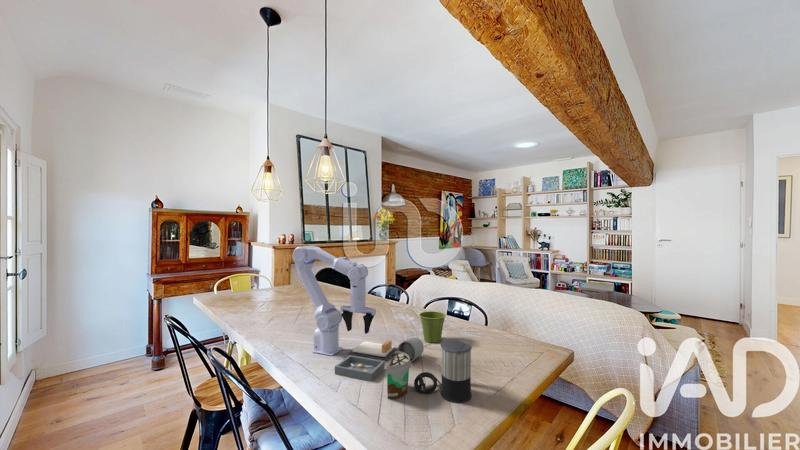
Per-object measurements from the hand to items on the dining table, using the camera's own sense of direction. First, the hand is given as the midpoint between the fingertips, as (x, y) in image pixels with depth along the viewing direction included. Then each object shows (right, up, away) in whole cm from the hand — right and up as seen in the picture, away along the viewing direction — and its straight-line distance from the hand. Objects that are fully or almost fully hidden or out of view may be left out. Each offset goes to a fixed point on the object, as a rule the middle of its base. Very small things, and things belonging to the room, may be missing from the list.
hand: (358, 331), depth 122 cm
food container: (+17, -10, -26) cm, 32 cm away
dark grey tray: (+2, -9, -13) cm, 16 cm away
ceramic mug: (+19, -10, -2) cm, 22 cm away
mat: (+6, -9, +4) cm, 12 cm away
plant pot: (+30, -10, +17) cm, 36 cm away
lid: (+6, -8, +4) cm, 11 cm away
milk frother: (+29, -10, -26) cm, 40 cm away
